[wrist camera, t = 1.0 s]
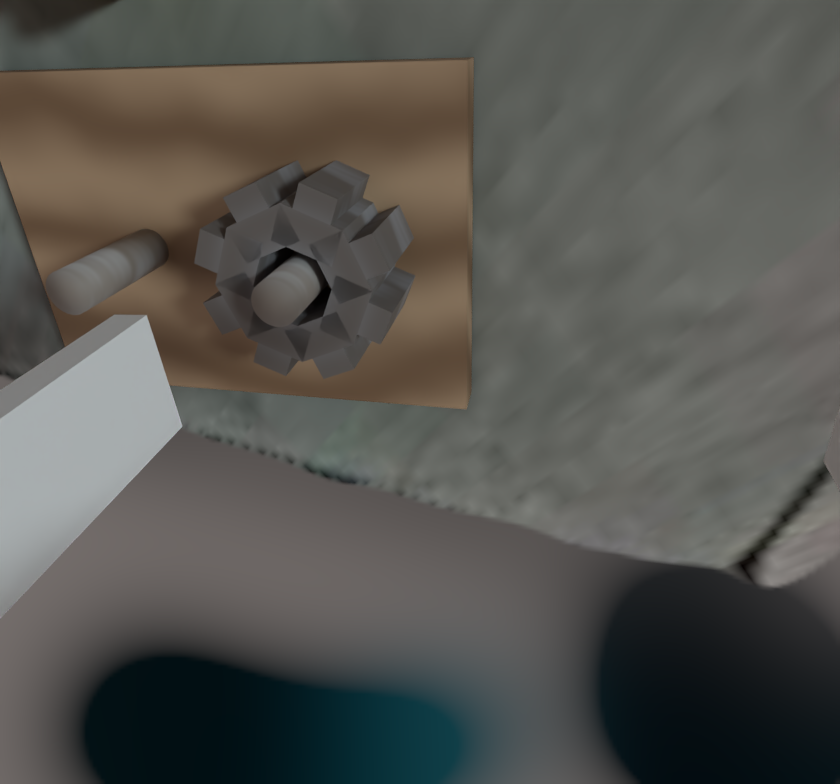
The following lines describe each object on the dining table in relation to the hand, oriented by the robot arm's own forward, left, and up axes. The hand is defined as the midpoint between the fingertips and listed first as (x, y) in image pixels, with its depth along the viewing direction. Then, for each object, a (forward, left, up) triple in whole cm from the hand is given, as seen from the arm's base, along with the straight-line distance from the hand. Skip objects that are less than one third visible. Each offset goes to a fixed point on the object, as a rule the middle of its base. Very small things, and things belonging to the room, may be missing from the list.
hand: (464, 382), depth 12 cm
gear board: (+4, -16, -23) cm, 28 cm away
